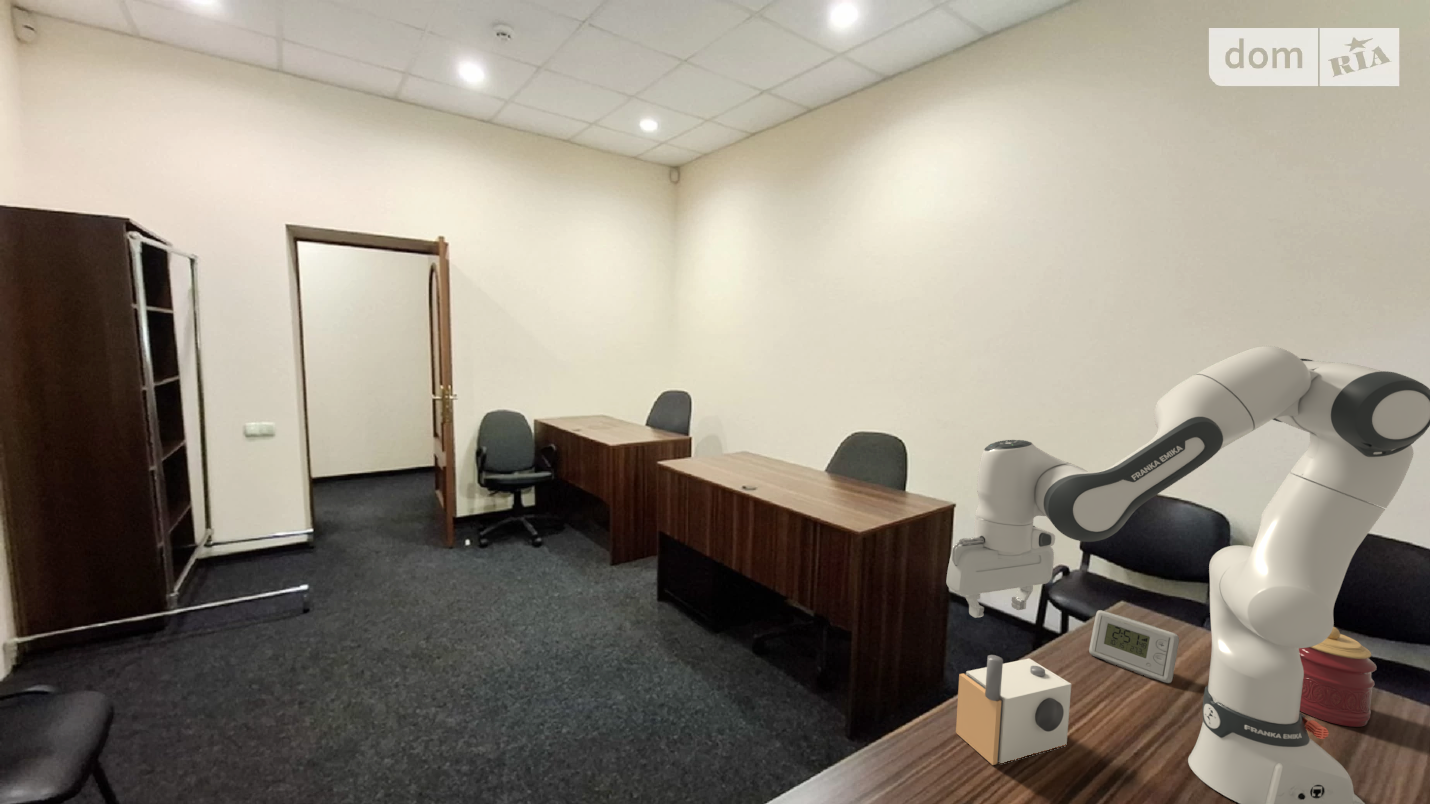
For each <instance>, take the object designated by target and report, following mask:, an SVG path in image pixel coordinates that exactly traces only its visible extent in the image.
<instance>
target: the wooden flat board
mask: <svg viewBox="0 0 1430 804" xmlns="http://www.w3.org/2000/svg"><path fill="white" fill-rule="evenodd" d="M986 660H987V661H986V667H987V674H986V689H984V688H983V687H982V686H980V685H979V684H977V683H976V682H975V681H973V680H972V679H971V678H969V677H968V676H967V675H966V673H959V676H958V688H957V689H958V691H957V707H956V708H957V709H956V722H955V723H956V725H955V733H956V734H957V735H958V736H959V737H960V738H961V739H962V740H963V741H965V742H966V743H967V745H968V744H969V746H970V747H971V748H973V749H974V751H976V753H978V754H979V755H981V757H983V758H984V759H985V760H986V761H988V763H990V765H992V766H994V765H998V762H997V759H998V744H999V729H1000V714H1001V700H1000V697H1001V682H1002V667H1003V664H1004V659H1003V658H1002V657H1000V656H998V655H995V654H989V655H987V659H986Z"/></svg>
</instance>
